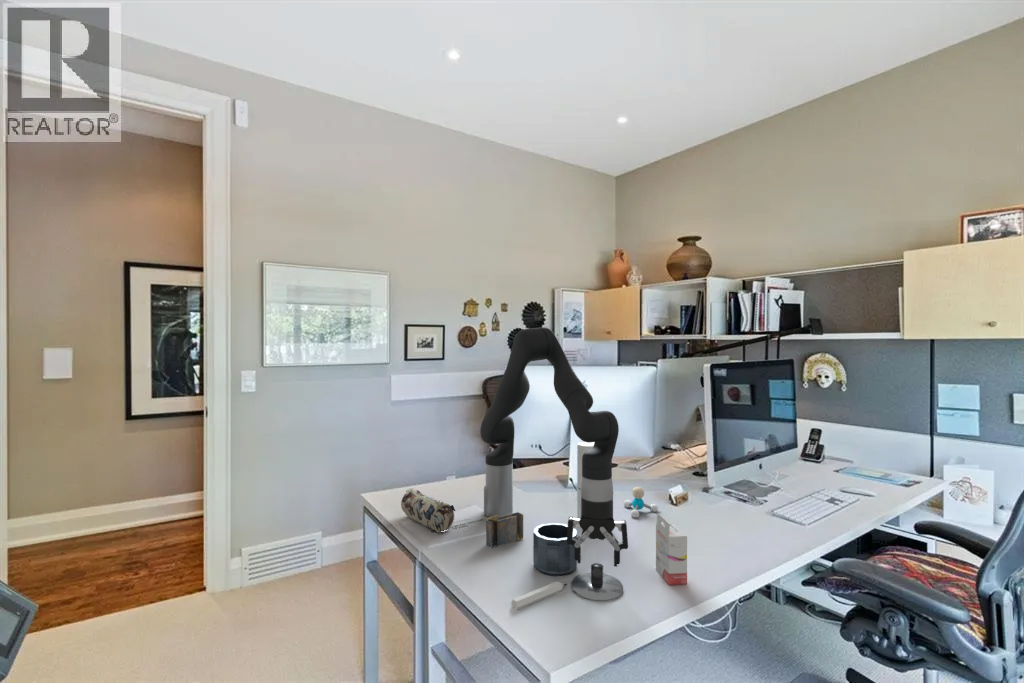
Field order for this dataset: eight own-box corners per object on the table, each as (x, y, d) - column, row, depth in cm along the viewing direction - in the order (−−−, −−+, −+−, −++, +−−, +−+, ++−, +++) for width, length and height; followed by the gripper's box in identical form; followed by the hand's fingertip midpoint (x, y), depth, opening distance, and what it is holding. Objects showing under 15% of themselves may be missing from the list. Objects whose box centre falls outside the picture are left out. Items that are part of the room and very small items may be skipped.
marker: (567, 590, 115) (515, 613, 106) (562, 583, 117) (510, 604, 107) (571, 583, 114) (518, 605, 105) (566, 576, 116) (513, 596, 106)
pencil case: (457, 530, 150) (457, 498, 150) (433, 537, 144) (433, 505, 144) (420, 511, 166) (420, 483, 166) (398, 517, 161) (398, 488, 161)
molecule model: (615, 507, 171) (615, 483, 171) (645, 504, 174) (645, 480, 174) (633, 519, 159) (633, 493, 159) (664, 515, 162) (664, 489, 162)
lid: (569, 599, 110) (569, 575, 110) (573, 574, 122) (573, 552, 122) (623, 605, 108) (623, 581, 108) (622, 578, 120) (622, 556, 120)
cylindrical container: (599, 525, 154) (599, 446, 154) (576, 523, 155) (576, 445, 155) (599, 516, 161) (599, 442, 161) (577, 515, 162) (578, 441, 162)
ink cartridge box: (688, 585, 116) (688, 524, 116) (668, 585, 116) (668, 524, 116) (673, 568, 125) (673, 511, 125) (654, 569, 124) (655, 512, 124)
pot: (529, 576, 120) (529, 540, 120) (538, 552, 134) (538, 519, 134) (574, 580, 118) (574, 544, 118) (578, 555, 132) (578, 522, 132)
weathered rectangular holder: (491, 550, 136) (491, 516, 136) (486, 546, 139) (486, 512, 139) (524, 540, 143) (524, 508, 143) (518, 537, 145) (518, 505, 145)
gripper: (565, 498, 113) (565, 568, 112) (628, 502, 110) (628, 573, 110) (568, 489, 120) (568, 554, 120) (627, 492, 117) (627, 559, 117)
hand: (597, 563), depth 115 cm, fingers open, 8 cm apart
